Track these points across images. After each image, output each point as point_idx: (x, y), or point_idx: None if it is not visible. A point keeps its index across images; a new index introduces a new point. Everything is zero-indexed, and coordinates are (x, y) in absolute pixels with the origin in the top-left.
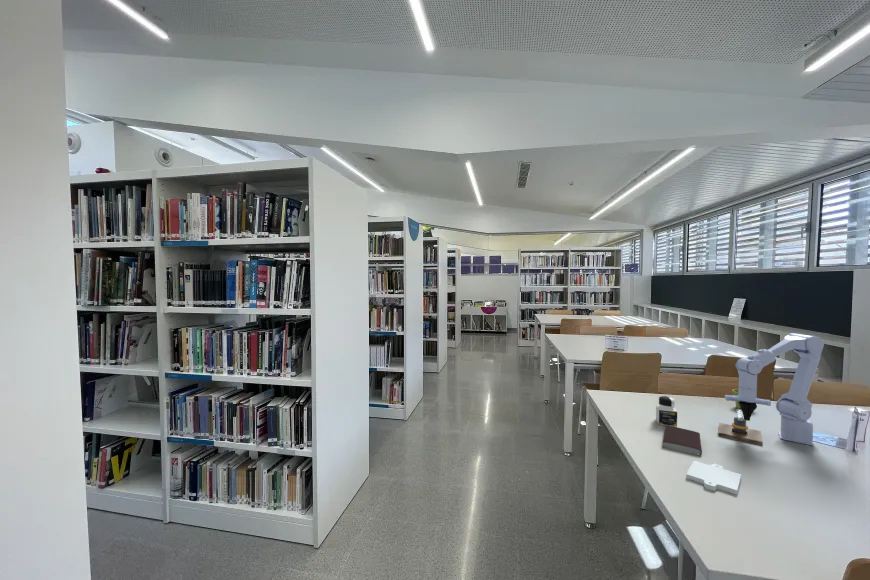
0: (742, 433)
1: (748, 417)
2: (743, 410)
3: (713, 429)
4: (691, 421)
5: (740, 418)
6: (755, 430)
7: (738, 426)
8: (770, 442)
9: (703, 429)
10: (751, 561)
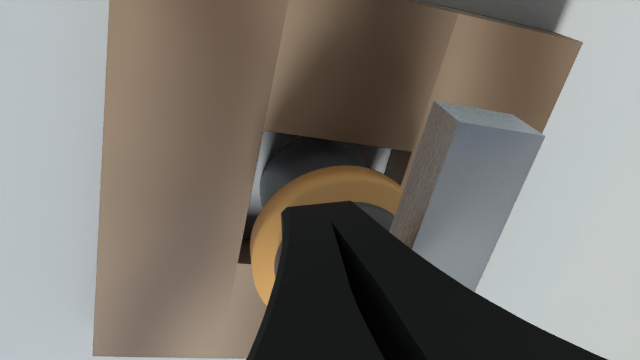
0: (308, 159)
1: (324, 232)
2: (536, 327)
3: (515, 217)
4: (617, 315)
5: (499, 124)
6: (144, 342)
7: (382, 184)
8: (17, 130)
9: (614, 164)
10: None
